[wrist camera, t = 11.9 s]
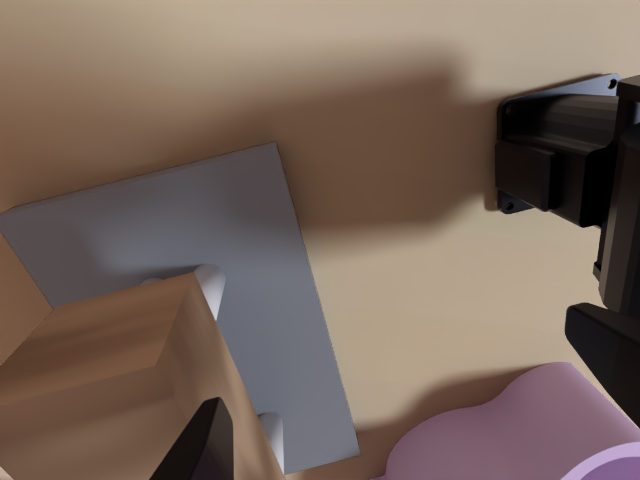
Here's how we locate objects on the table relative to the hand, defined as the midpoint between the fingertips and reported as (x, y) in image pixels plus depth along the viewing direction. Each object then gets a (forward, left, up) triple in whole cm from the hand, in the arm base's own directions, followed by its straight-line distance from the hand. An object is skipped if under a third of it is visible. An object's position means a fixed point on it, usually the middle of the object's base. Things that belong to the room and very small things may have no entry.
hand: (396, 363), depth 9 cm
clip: (-8, +25, -13) cm, 29 cm away
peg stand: (+9, +8, -12) cm, 17 cm away
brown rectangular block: (+9, +8, -6) cm, 13 cm away
